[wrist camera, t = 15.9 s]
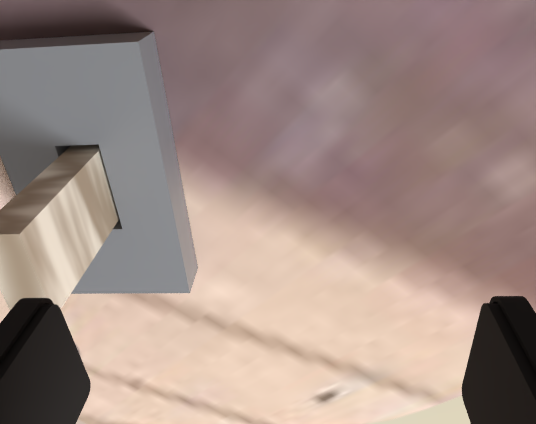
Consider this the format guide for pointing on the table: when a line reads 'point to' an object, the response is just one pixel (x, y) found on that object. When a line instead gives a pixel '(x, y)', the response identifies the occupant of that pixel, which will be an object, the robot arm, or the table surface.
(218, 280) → the table surface
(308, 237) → the table surface
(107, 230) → the pine slat
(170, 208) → the grey slotted tile
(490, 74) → the table surface
